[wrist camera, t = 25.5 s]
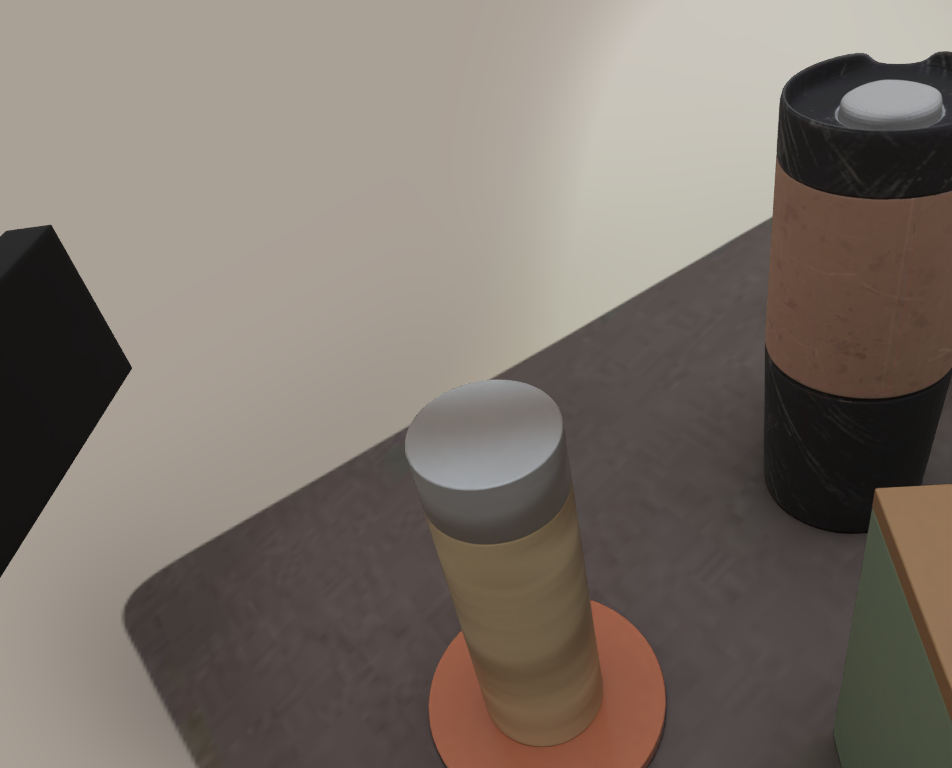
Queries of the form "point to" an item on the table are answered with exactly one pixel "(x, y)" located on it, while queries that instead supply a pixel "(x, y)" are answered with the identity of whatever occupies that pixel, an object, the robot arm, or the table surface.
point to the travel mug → (858, 284)
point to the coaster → (585, 756)
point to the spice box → (901, 637)
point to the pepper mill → (511, 553)
